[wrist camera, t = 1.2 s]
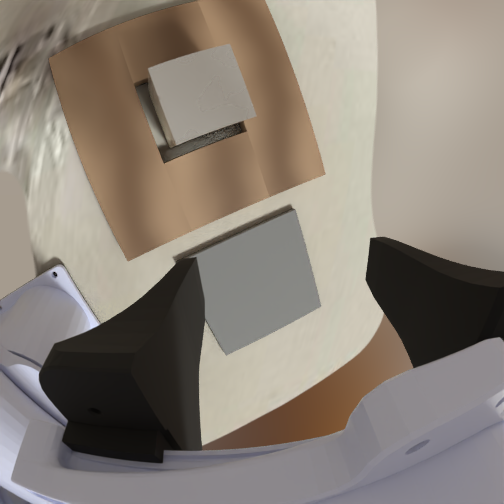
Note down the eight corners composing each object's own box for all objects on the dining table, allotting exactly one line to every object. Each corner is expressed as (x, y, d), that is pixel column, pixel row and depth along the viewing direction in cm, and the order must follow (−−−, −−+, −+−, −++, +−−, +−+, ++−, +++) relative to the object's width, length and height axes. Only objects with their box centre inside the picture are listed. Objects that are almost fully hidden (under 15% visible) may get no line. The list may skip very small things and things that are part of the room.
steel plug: (169, 148, 18) (176, 145, 13) (149, 92, 17) (147, 68, 11) (227, 126, 19) (256, 116, 14) (208, 72, 17) (229, 43, 12)
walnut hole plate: (129, 255, 20) (127, 261, 19) (53, 63, 13) (48, 58, 12) (317, 172, 23) (325, 174, 22) (255, -3, 16) (260, -9, 15)
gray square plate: (224, 352, 25) (226, 355, 25) (176, 261, 21) (176, 263, 21) (319, 304, 27) (321, 306, 27) (293, 208, 23) (295, 209, 23)
